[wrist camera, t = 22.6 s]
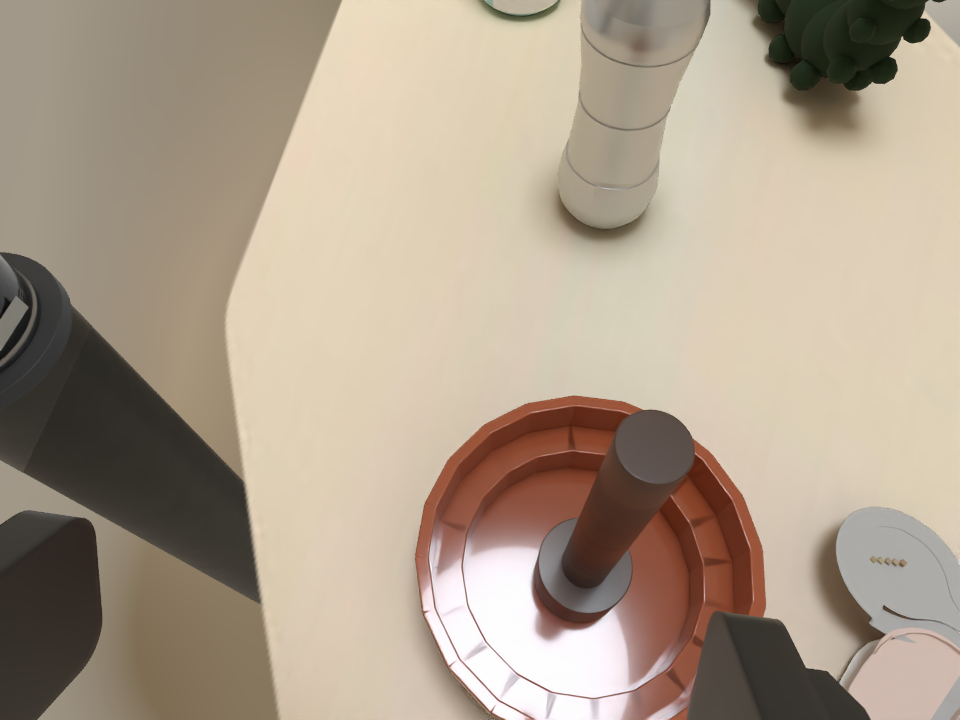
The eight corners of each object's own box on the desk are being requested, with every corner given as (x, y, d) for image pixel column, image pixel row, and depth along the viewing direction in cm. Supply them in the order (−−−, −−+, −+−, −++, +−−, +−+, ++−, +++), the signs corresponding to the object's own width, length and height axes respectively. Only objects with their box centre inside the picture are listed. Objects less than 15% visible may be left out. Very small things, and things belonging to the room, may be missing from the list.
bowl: (400, 720, 32) (385, 718, 27) (451, 423, 39) (446, 379, 34) (731, 772, 31) (776, 780, 26) (721, 456, 38) (755, 416, 33)
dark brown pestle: (529, 616, 34) (567, 514, 18) (538, 527, 36) (579, 365, 20) (619, 629, 33) (740, 537, 17) (623, 539, 35) (734, 383, 20)
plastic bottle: (646, 168, 48) (738, -154, 31) (651, 245, 45) (757, -65, 27) (554, 165, 49) (593, -157, 31) (553, 241, 45) (596, -70, 28)
